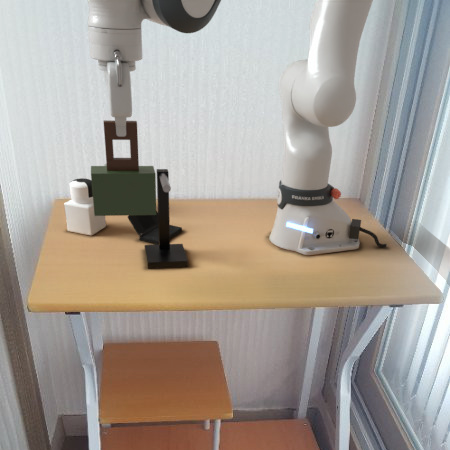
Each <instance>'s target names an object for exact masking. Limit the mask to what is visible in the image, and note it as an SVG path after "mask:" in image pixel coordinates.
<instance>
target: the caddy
mask: <svg viewBox="0 0 450 450" xmlns="http://www.w3.org/2000/svg"><path fill="white" fill-rule="evenodd" d="M103 131H104V132H103V133H104V134H103V135H104V148H105V161H106V162H105V164H106V163H107V166H104V165H91V166H90V180H91V181H92V192H93V203H94V215H95V216H105V217H112V216H113V217H115V216H118V217H119V216H129V215H156V210H157V174H156V171H155V167H154V165H140V164H139V161H140V160H139V140H138V137H139V136H138V121H137V120H126V136H124V137H119V136H117V134H116V124H115V120H106V119H105V120H103ZM114 141H129V152H130V157H115V155H114Z"/></svg>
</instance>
